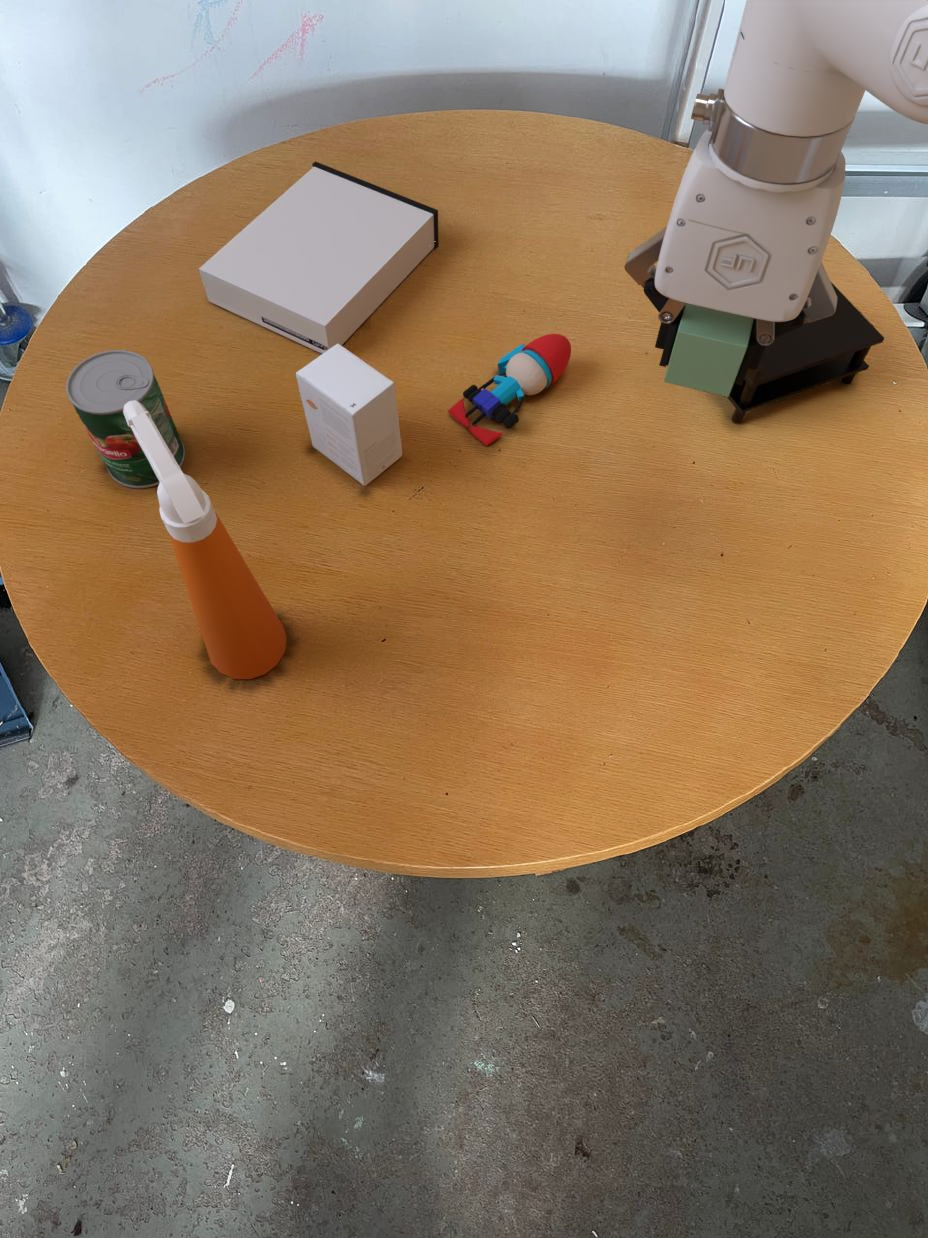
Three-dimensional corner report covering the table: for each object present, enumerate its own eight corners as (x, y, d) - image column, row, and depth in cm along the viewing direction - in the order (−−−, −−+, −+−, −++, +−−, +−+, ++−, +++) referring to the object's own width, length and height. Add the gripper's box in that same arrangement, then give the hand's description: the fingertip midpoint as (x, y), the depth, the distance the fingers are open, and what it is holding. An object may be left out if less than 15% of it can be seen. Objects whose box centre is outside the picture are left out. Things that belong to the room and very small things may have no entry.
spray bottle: (248, 570, 82) (167, 362, 59) (301, 656, 78) (235, 467, 55) (179, 605, 80) (67, 404, 57) (228, 695, 76) (129, 515, 53)
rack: (795, 314, 100) (821, 253, 93) (859, 384, 94) (891, 325, 87) (675, 353, 97) (693, 293, 89) (734, 429, 91) (757, 371, 84)
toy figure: (493, 460, 91) (592, 372, 94) (486, 430, 86) (590, 339, 89) (445, 423, 94) (542, 339, 97) (436, 393, 90) (538, 306, 93)
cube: (739, 352, 68) (758, 300, 64) (728, 397, 66) (747, 346, 61) (676, 338, 69) (690, 286, 64) (663, 382, 66) (677, 331, 62)
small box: (403, 457, 89) (397, 382, 80) (364, 488, 87) (353, 415, 78) (350, 416, 92) (338, 340, 83) (310, 446, 90) (293, 371, 81)
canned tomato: (98, 487, 87) (54, 410, 77) (117, 427, 91) (77, 347, 81) (177, 490, 87) (142, 413, 77) (192, 430, 91) (161, 350, 81)
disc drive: (439, 245, 105) (438, 208, 101) (332, 359, 96) (326, 324, 91) (321, 198, 110) (315, 160, 105) (207, 302, 100) (196, 266, 96)
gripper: (623, 139, 50) (583, 371, 66) (924, 198, 48) (808, 424, 64) (650, 71, 54) (606, 306, 70) (932, 122, 51) (820, 354, 67)
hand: (703, 360), depth 67 cm, fingers closed on cube, 5 cm apart
